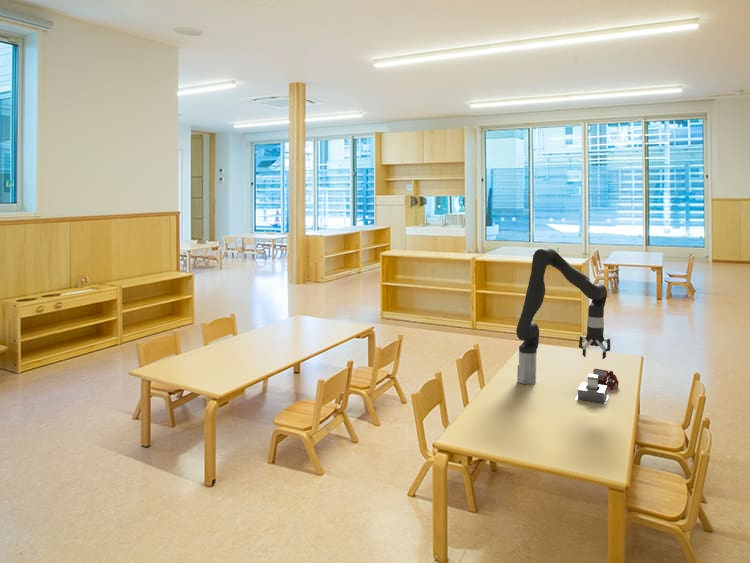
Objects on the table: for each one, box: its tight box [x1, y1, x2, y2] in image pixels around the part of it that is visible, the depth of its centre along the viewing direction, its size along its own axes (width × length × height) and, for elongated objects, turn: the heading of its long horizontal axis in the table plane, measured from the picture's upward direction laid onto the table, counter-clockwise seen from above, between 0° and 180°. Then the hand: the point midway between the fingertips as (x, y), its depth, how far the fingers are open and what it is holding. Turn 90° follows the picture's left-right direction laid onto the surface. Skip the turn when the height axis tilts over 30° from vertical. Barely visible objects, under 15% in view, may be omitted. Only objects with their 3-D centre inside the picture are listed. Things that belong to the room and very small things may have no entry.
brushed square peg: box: [587, 373, 598, 390], centre depth 277 cm, size 4×4×11 cm
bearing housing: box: [575, 381, 610, 405], centre depth 277 cm, size 14×14×6 cm
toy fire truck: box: [592, 368, 620, 391], centre depth 292 cm, size 7×12×10 cm, turn 56°
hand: (594, 357), depth 274 cm, fingers open, 8 cm apart
